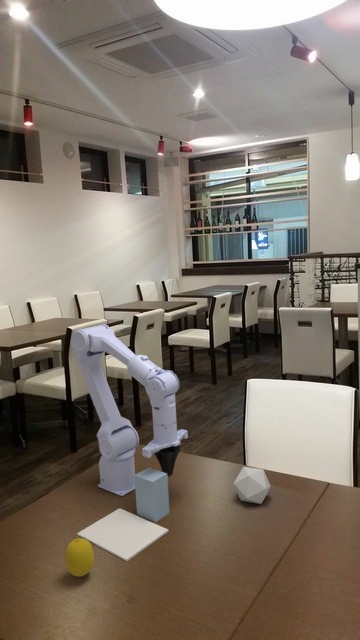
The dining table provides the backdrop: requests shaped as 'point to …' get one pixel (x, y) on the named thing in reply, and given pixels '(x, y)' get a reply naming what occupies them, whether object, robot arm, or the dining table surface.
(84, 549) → the lemon
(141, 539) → the mat
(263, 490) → the die
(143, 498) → the block
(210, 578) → the dining table surface
